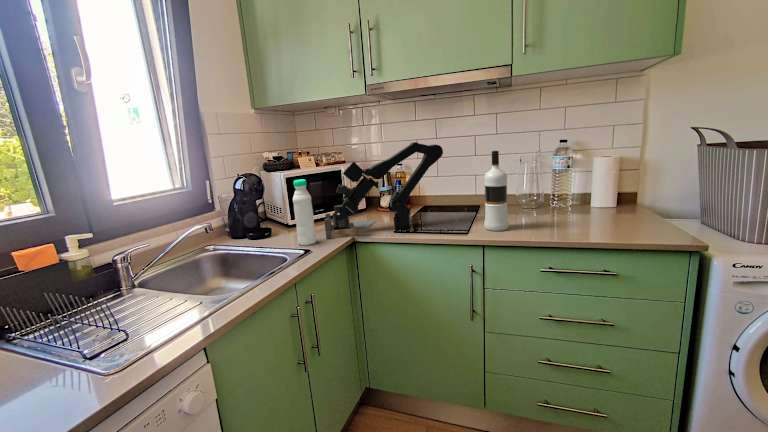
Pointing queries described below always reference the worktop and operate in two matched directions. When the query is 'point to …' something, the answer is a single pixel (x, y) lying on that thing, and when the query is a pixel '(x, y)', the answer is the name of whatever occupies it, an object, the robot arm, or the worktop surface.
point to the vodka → (496, 197)
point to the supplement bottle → (343, 223)
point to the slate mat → (362, 224)
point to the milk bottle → (303, 214)
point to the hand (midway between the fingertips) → (337, 218)
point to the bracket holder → (338, 233)
